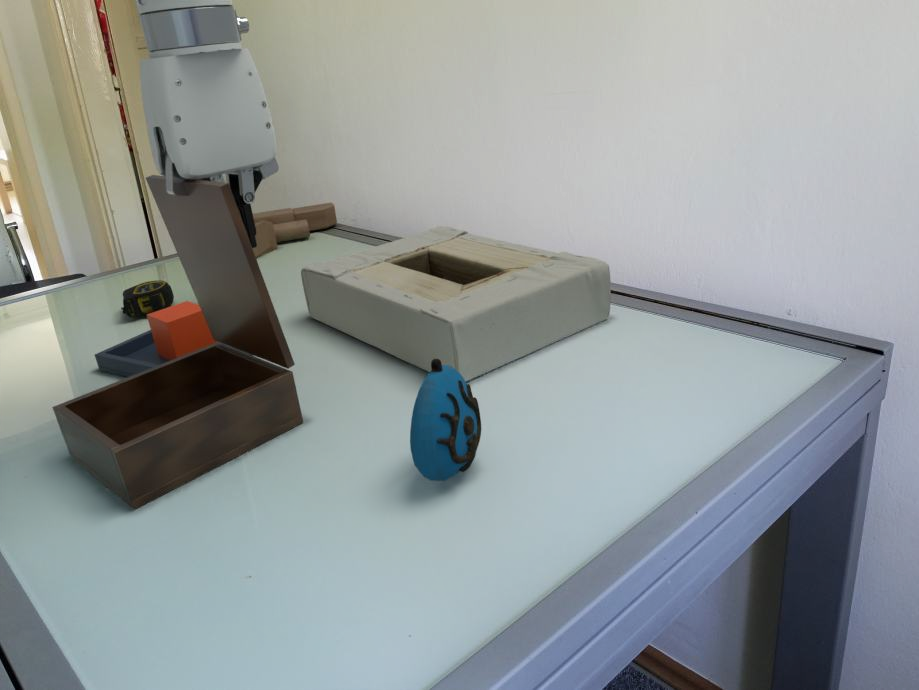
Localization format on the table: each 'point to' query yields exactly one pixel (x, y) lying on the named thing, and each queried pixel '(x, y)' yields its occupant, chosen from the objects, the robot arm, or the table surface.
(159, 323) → the cube
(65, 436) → the chest
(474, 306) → the box
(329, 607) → the table surface
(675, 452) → the table surface
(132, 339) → the tray
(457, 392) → the ornament
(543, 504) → the table surface
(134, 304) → the tape measure
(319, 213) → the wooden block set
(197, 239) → the lid
